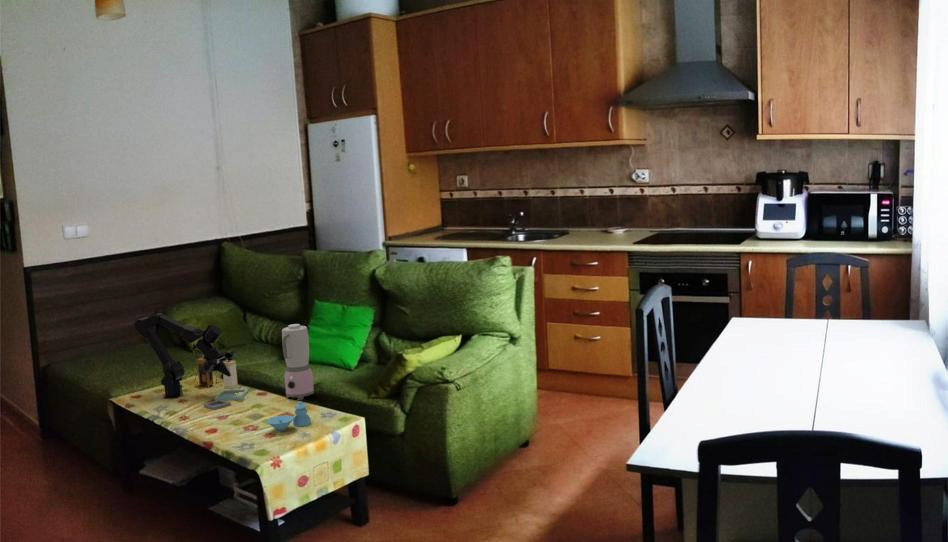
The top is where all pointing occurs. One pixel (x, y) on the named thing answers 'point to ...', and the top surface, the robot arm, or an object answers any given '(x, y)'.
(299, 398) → the blender
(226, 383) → the block
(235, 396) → the parts tray
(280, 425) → the blue small pieces
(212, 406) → the small gray square tray
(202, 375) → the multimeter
